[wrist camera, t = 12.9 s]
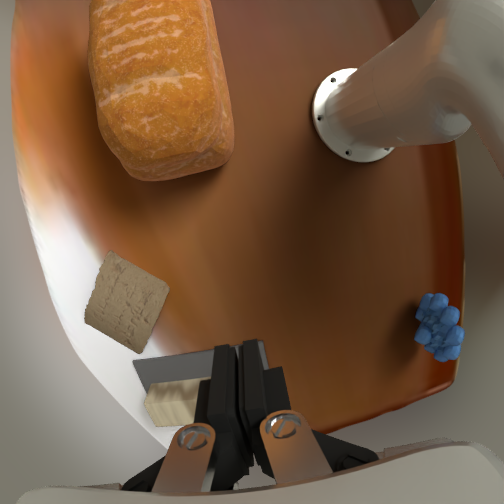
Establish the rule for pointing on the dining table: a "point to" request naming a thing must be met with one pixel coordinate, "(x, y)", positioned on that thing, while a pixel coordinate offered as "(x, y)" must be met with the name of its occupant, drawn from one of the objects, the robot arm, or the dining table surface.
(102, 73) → the bread
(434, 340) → the grapes
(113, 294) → the clay tablet
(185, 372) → the rubber mat
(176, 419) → the birch block
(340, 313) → the dining table surface
